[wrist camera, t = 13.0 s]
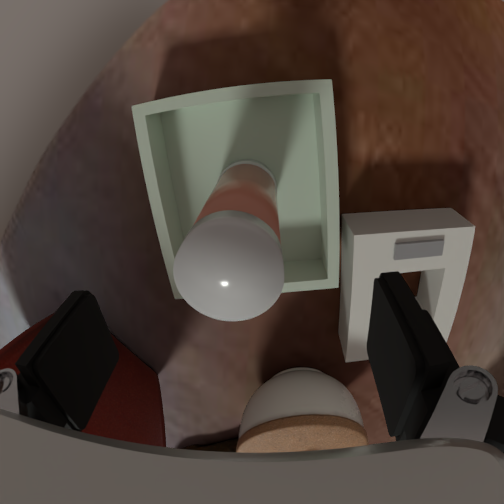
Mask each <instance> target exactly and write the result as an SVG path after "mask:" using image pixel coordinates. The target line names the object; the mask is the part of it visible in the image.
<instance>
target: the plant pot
mask: <svg viewBox="0 0 504 504" xmlns="http://www.w3.org/2000/svg"><path fill="white" fill-rule="evenodd" d="M53 315H54V313H53V314H52V315H50V316H48V317H46V318H45V319H43V320H41V321H39V322H38V323H36V324H35V325H33V326H32V327H30V328H29V329H27V330H26V331H24V332H23V333H21V334H20V335H19V336H17V337H16V338H15V339H13V340H12V341H11V342H9V343H8V344H7V345H6V346H4V347H3V348H2V349H1V350H0V370H2V369H5V368H10V369H13V370H14V371H15V372H16V373H17V375H19V373H20V371H19V370H18V368H17V367H16V365H15V363H16V361H17V360H18V359H19V357H20V356H21V355H22V353H23V352H24V351H25V349H26V348H27V347H28V346H29V344H30V343H31V342H32V340H33V339H34V338H35V337H36V335H37V334H38V333H39V332H40V330H41V329H42V328H43V327H44V325H45V324H46V323H47V322H48V321H49V319H50V318H51V317H52V316H53ZM110 334H111V333H110ZM111 336H112V338H113V340H114V343H115V345H116V347H117V349H118V352H119V360H118V362H117V364H116V366H115V368H114V370H113V372H112V374H111V376H110V378H109V380H108V382H107V384H106V386H105V388H104V390H103V392H102V395H101V397H100V399H99V401H98V403H97V405H96V407H95V409H94V411H93V413H92V415H91V418H90V420H89V422H88V424H87V426H86V428H85V429H84V430H82V431H81V432H83V433H87V434H92V435H96V436H101V437H106V438H111V439H116V440H121V441H127V442H133V443H139V444H145V445H152V446H160V447H166V436H165V424H164V415H163V405H162V398H161V391H160V384H159V379H158V376H157V374H156V373H155V372H154V371H153V370H152V369H151V368H149V367H148V366H147V365H146V364H145V363H143V362H142V361H141V360H140V359H139V358H138V357H136V356H135V355H134V354H133V353H132V352H131V351H130V350H128V349H127V348H126V347H125V346H124V345H123V344H122V343H121V342H119V341H118V340H117V339H116V338H115V337H114V336H113V335H112V334H111Z"/></svg>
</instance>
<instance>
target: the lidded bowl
mask: <svg viewBox="0 0 504 504" xmlns="http://www.w3.org/2000/svg"><path fill="white" fill-rule="evenodd" d="M364 445H368V438H367V433H366V431H365V429H364V426H363V421H362V417H361V413H360V411H359V408H358V406H357V404H356V402H355V400H354V398H353V396H352V394H351V393H350V392H349V391H348V389H347V388H346V387H345V386H344V385H343V384H342V383H340V382H339V381H338V380H336V379H335V378H333V377H331V376H329V375H327V374H325V373H323V372H322V371H320V370H317V369H314V368H308V367H297V368H291V369H287V370H284V371H281V372H279V373H277V374H276V375H274V376H273V377H272V378H271V379H270V380H268V381H267V382H265V383H264V384H263V385H261V386H260V387H259V388H258V389H257V390H256V391H255V393H254V394H253V395H252V396H251V398H250V400H249V401H248V403H247V405H246V408H245V410H244V413H243V417H242V421H241V425H240V431H239V440H238V442H237V447H236V452H241V453H272V452H298V451H314V450H327V449H338V448H348V447H357V446H364Z"/></svg>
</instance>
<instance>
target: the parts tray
mask: <svg viewBox="0 0 504 504" xmlns="http://www.w3.org/2000/svg"><path fill="white" fill-rule="evenodd" d="M132 113H133V119H134V125H135V131H136V136H137V142H138V147H139V152H140V158H141V163H142V168H143V173H144V178H145V182H146V187H147V192H148V196H149V201H150V205H151V210H152V214H153V218H154V222H155V227H156V231H157V235H158V239H159V243H160V247H161V251H162V255H163V258H164V262H165V266H166V270H167V273H168V277H169V281H170V284H171V288H172V291H173V295H174V298H175V299H184V298H183V297H182V296H181V294H180V293H179V291H178V289H177V286H176V284H175V280H174V275H173V266H174V260H175V257H176V254H177V252H178V250H179V248H180V246H181V244H182V242H183V241H184V239H185V237H186V235H187V233H188V232H189V230H190V229H191V228H192V226H193V225H194V223H195V221H196V219H197V217H198V216H199V214H200V212H201V210H202V208H203V207H204V205H205V203H206V201H207V199H208V198H209V196H210V194H211V192H212V191H213V189H214V187H215V185H216V183H217V181H218V179H219V177H220V175H221V173H222V172H223V170H224V169H225V168H226V167H227V166H228V165H229V164H231V163H232V162H234V161H237V160H240V159H253V160H257V161H260V162H262V163H263V164H265V165H266V166H267V167H268V168H269V169H270V170H271V171H272V173H273V175H274V177H275V180H276V186H277V205H278V217H279V229H280V241H281V247H282V252H283V263H284V285H283V289H282V292H281V293H283V292H295V291H307V290H318V289H329V288H339V180H338V156H337V138H336V123H335V109H334V98H333V87H332V79H323V80H299V81H283V82H271V83H260V84H250V85H242V86H234V87H226V88H219V89H213V90H207V91H201V92H195V93H189V94H184V95H179V96H174V97H169V98H164V99H159V100H155V101H151V102H146V103H142V104H138V105H134V106H132Z"/></svg>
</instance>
